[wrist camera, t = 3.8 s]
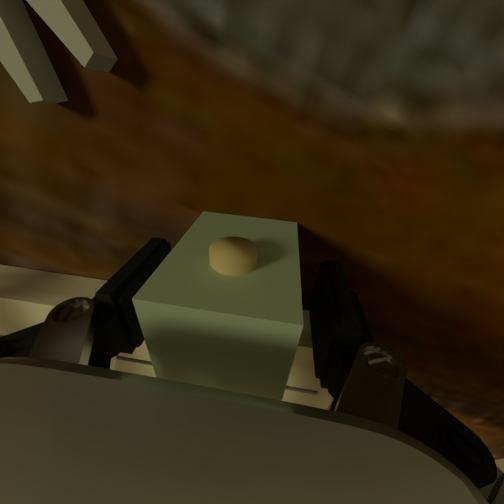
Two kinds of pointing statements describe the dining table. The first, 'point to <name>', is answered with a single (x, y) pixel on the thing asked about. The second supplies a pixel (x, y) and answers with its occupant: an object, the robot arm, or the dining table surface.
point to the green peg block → (226, 306)
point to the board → (69, 286)
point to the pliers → (33, 53)
